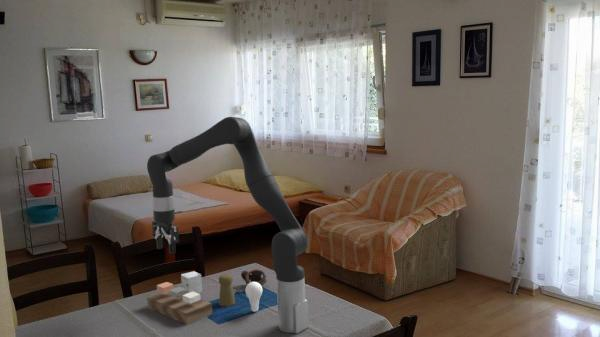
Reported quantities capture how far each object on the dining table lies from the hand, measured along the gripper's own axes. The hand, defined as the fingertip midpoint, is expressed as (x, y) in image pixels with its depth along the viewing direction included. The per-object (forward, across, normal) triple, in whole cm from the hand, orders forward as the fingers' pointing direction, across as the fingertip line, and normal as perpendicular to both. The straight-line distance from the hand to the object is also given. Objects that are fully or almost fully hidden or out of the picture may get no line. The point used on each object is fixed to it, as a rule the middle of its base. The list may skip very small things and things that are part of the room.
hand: (166, 250), depth 191 cm
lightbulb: (+20, -29, -17) cm, 40 cm away
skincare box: (+21, +4, -13) cm, 26 cm away
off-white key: (+15, -15, 0) cm, 21 cm away
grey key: (+15, -7, 0) cm, 17 cm away
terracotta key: (+15, +1, +1) cm, 15 cm away
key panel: (+21, -7, 0) cm, 22 cm away
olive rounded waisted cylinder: (+21, -16, -15) cm, 30 cm away
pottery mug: (+21, -11, -33) cm, 40 cm away
